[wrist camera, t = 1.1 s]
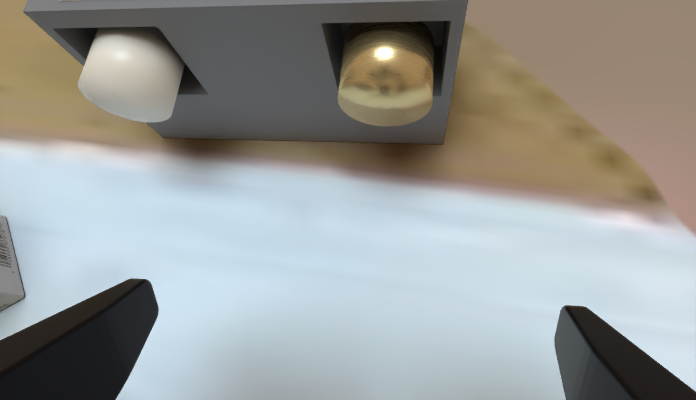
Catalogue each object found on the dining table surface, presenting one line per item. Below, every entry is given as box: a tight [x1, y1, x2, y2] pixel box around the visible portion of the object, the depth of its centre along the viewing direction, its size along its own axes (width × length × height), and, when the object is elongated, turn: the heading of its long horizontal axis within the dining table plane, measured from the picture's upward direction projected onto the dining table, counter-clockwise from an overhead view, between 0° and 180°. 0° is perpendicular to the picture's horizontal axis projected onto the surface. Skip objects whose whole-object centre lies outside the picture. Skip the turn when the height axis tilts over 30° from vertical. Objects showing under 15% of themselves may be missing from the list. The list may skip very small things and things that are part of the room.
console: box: [23, 0, 468, 144], centre depth 22 cm, size 6×18×12 cm, turn 85°
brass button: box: [338, 21, 434, 126], centre depth 19 cm, size 3×4×4 cm
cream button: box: [78, 27, 185, 122], centre depth 20 cm, size 3×4×4 cm
